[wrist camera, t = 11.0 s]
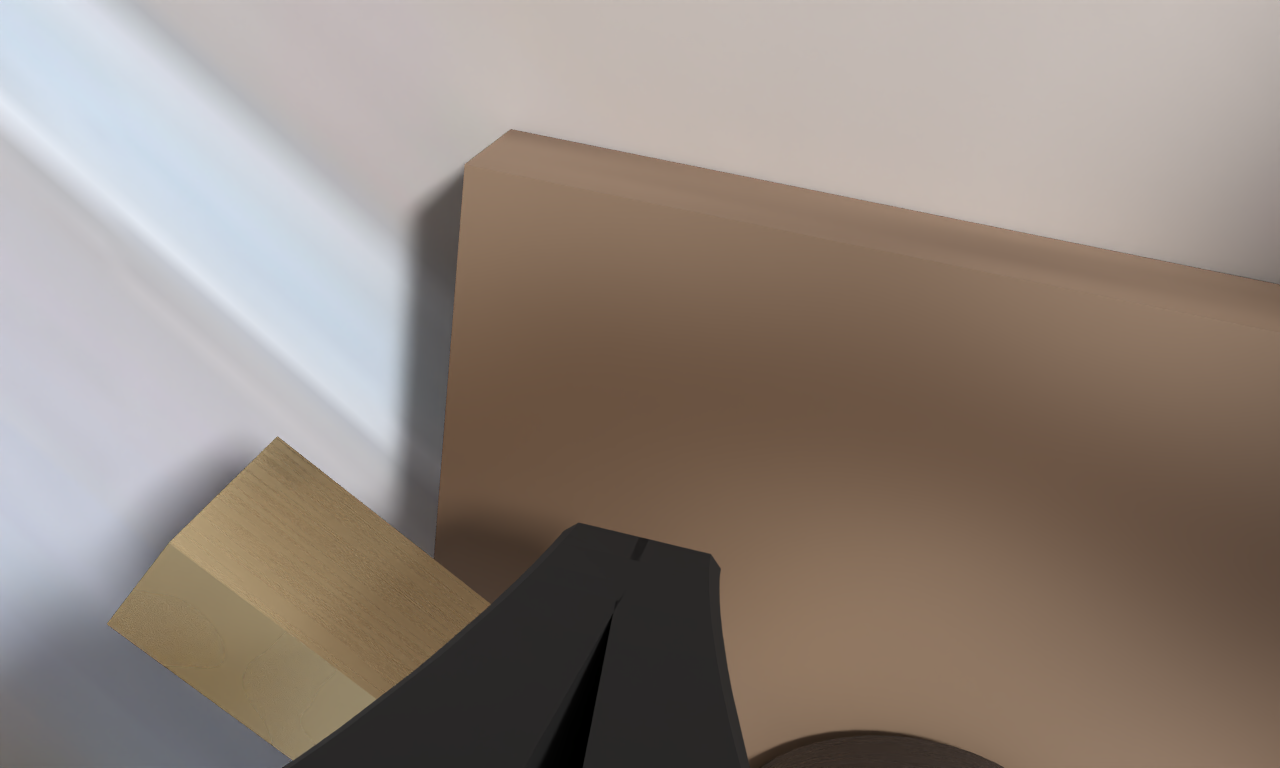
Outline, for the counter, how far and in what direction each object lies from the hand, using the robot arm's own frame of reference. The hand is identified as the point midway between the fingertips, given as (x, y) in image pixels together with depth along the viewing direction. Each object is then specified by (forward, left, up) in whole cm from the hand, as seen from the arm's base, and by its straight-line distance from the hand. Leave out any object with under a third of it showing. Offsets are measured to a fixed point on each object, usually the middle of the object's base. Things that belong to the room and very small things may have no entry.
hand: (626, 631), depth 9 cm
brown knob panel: (-8, -6, -4) cm, 10 cm away
